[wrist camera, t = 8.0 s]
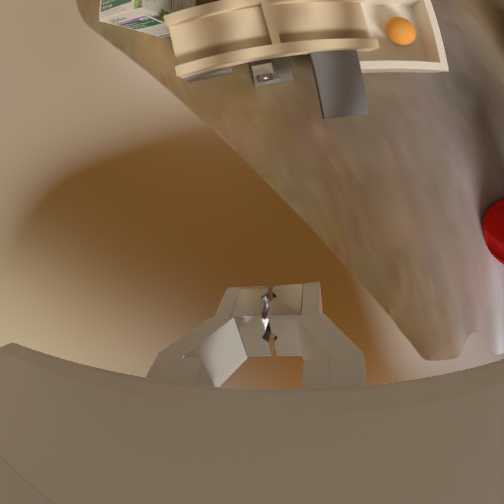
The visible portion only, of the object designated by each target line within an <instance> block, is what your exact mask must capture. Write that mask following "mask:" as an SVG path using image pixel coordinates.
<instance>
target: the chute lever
mask: <svg viewBox="0 0 504 504" xmlns="http://www.w3.org/2000/svg"><path fill="white" fill-rule="evenodd" d="M361 1H363V0H220V1H215V2H211V3H206V4H202V5H198V6H195V7H191V8H187V9H184V10H180V11H177V12H174V13H171V14H168V15H164V16H163V17H164V21H165V24H166V25H167V26H168V27H169V31H170V35H171V40H172V44H173V48H174V53H175V57H176V61H177V65H178V66H175V69H176V73H177V76H179V77H181V78H183V79H184V80H186V81H188V82H190V83H193V82H196V81H200V80H204V79H207V78H211V77H215V76H220V75H224V74H228V73H232V68H231V66H233V65H237V64H242V63H248V62H253V61H259V60H264V59H271V58H278V57H285V56H293V55H302V54H309V56H310V60H311V64H312V68H313V73H314V77H315V82H316V87H317V91H318V96H319V101H320V107H321V112H322V117H323V119H327V118H336V117H345V116H355V115H366V114H369V110H368V104H367V98H366V92H365V87H364V82H363V77H362V72H361V67H360V62H359V58H358V54H357V51H372V50H374V49H377V48H379V44H378V40H377V39H371V38H370V34H369V31H368V27H367V23H366V20H365V17H364V13H363V10H362V7H361V4H360V2H361Z"/></svg>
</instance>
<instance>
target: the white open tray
mask: <svg viewBox="0 0 504 504" xmlns="http://www.w3.org/2000/svg"><path fill="white" fill-rule="evenodd" d="M360 4H361V7H362V10H363V13H364V17H365V20H366V23H367V27H368V31H369V34H370V38H371V39H377V40H378V44H379V48H377V49H374V50H372V51H357V54H358V58H359V62H360V67H361V72H362V73H371V72H421V73H438V72H445V71H449V69H448V64H447V59H446V55H445V50H444V46H443V42H442V38H441V34H440V30H439V26H438V23H437V20H436V16H435V13H434V10H433V7H432V4H431V1H430V0H363V1H361V2H360ZM392 17H402V18H405V19H407V20H408V21H410V22H411V23H412V25H413V26H414V28H415V31H416V37H415V39H414V41H413V42H412V43H410V44H408V45H399V44H396V43H394V42H393V41H391V40H390V39H389V38H388V36H387V35H386V32H385V24H386V22H387V21H388V20H389V19H390V18H392Z"/></svg>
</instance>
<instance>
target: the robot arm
mask: <svg viewBox="0 0 504 504" xmlns="http://www.w3.org/2000/svg"><path fill="white" fill-rule="evenodd" d="M273 297H274V299H273ZM273 335H275V338H274V337H273ZM274 345H275V349H276V353H277V356H302V357H303V359H304V361H305V362H304V368H303V376H302V384H301V389H299V390H298V389H295V390H293V389H292V390H291V389H289V390H285V389H284V390H283V389H281V390H280V389H246V388H228V387H219V386H220V385H221V384H222V383H223V382H224V381H225V380H226V379H227V378H228V377H229V376H230V375H231V374H232V373H233V372H234V371H235V370H236V369H237V368H238V367H239V366H240V365H241V364H242V363H243V362H244V361H245V360H246V359H247V356H272V351H273V347H274ZM365 368H366V367H365V357H364V353H363V352H362V351H361V350H360V349H358V347H357V346H356V345H355V344H354V343H353V342H351V340H350V339H349V338H348V337H347V336H346V335H345V334H344V333H343V332H342V331H341V330H339V328H338V327H337V326H336V325H335V324H334V323H333V322H332V321H331V320H330V319H329V318H327V317H326V315H325V314H323V313H322V304H321V292H320V283H319V282H313V283H304V284H295V285H284V286H275V287H274V289H273V292H272V288H271V287H270V286H264V287H263V286H262V287H242V288H241V287H239V288H228V289H227V290H226V292H225V294H224V297H223V299H222V301H221V303H220V305H219V308H218V310H217V312H216V314H215V317H214V318H209V319H207V320H206V321H205V322H203V323H202V324H200V325H199V326H197V327H196V328H195V329H193V330H192V331H190V332H189V333H187V334H186V335H185V336H183V337H182V338H180V339H179V340H177V341H176V342H175V343H173V344H171V345H170V346H169V347H167V348H165V349H164V350H163V351H161V352H160V353H159V354H158V356H157V357H156V359H155V361H154V363H153V365H152V366H151V368H150V370H149V372H148V374H147V376H146V377H145V378H144V377H139V376H133V375H128V374H123V373H118V372H113V371H109V370H104V369H100V368H95V367H91V366H87V365H83V364H79V363H75V362H72V361H68V360H65V359H61V358H58V357H54V356H51V355H48V354H44V353H42V352H39V351H35V350H32V349H30V348H27V347H23V346H21V345H19V344H16V343H9V344H7V345H5V346H3V347H0V504H504V359H503V360H499V361H496V362H493V363H489V364H485V365H482V366H478V367H474V368H470V369H466V370H462V371H457V372H453V373H448V374H443V375H438V376H433V377H427V378H422V379H416V380H409V381H403V382H395V383H388V384H379V385H371V386H367V379H366V369H365Z"/></svg>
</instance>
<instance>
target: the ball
mask: <svg viewBox="0 0 504 504" xmlns="http://www.w3.org/2000/svg"><path fill="white" fill-rule="evenodd" d="M385 32H386V35H387V36H388V38H389V39H390V40H391V41H393V42H394V43H396V44H399V45H408V44H410V43H412V42H413V41H414V39H415V37H416V31H415V28H414V26H413V25H412V23H411V22H410V21H408V20H407V19H405V18H402V17H392V18H390V19H389V20H388V21H387V22H386V24H385Z"/></svg>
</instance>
